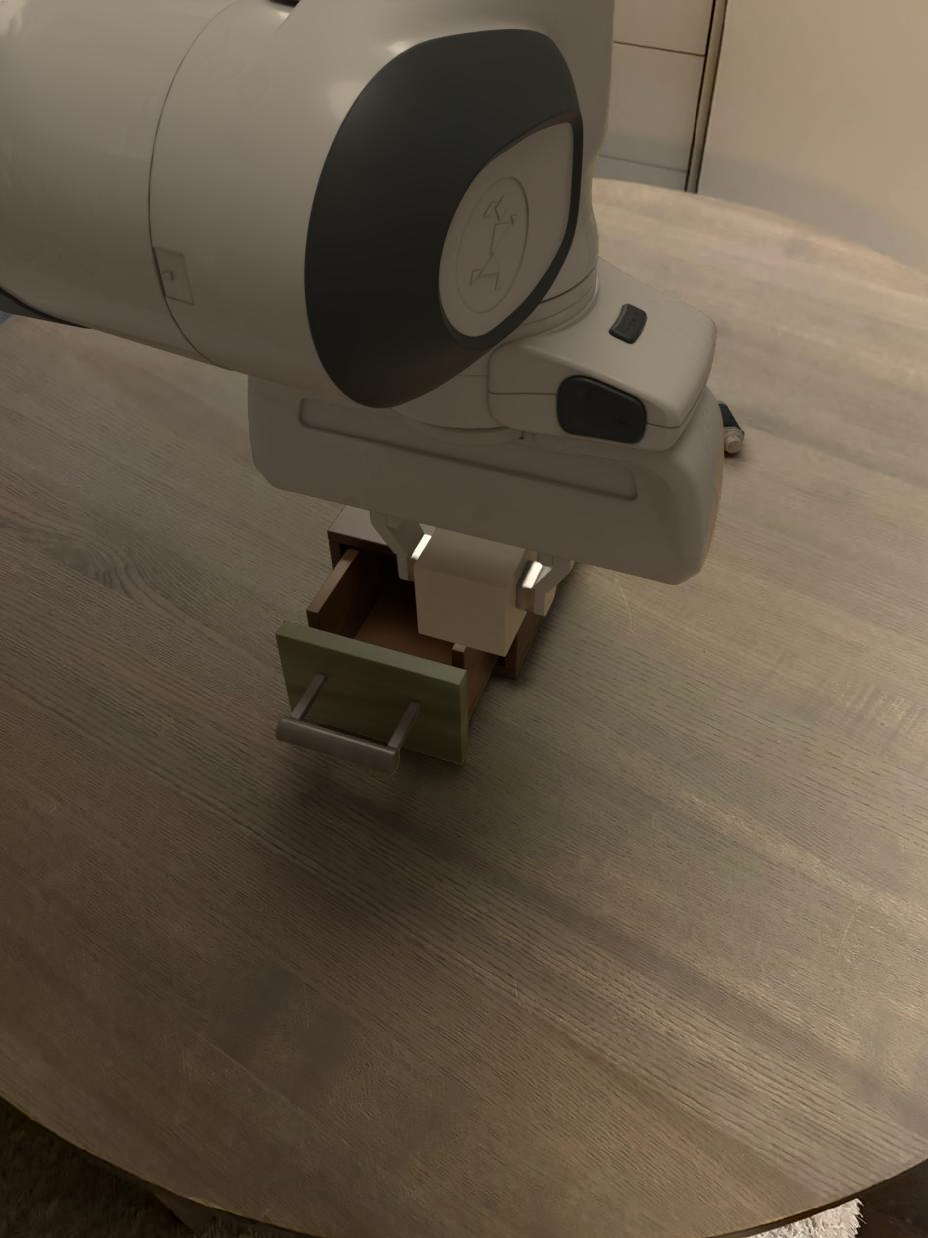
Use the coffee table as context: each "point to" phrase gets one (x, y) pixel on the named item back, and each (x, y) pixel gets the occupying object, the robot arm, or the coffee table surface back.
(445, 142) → the robot arm
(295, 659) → the drawer
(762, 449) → the coffee table surface
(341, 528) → the cabinet
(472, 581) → the block
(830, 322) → the coffee table surface
